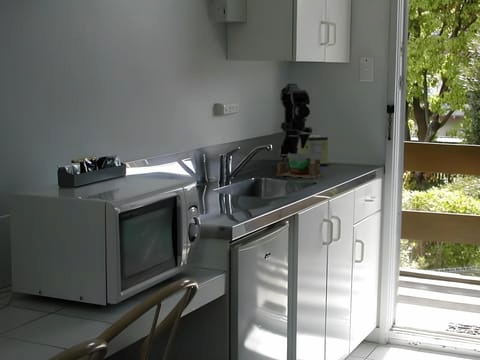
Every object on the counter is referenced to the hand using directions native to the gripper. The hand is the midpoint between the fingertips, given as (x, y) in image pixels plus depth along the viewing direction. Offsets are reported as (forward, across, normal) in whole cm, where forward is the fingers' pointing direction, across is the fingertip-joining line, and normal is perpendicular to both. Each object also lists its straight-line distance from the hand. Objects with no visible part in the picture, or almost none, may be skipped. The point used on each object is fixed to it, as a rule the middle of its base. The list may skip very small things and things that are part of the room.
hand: (298, 149), depth 349 cm
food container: (+12, +1, 0) cm, 12 cm away
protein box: (+13, -42, -10) cm, 45 cm away
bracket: (+13, 0, 0) cm, 13 cm away
